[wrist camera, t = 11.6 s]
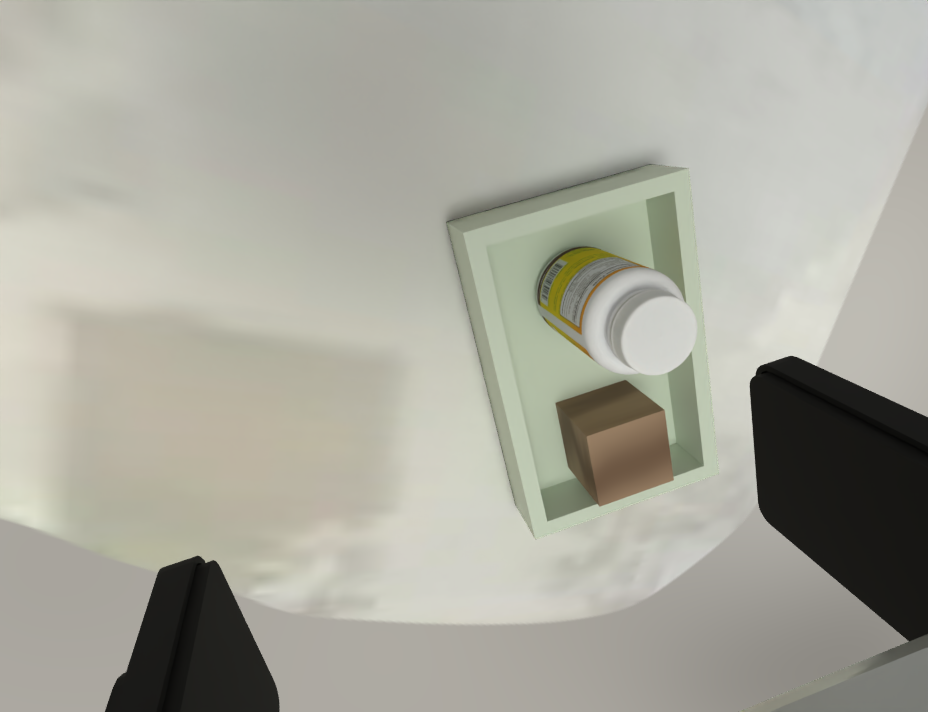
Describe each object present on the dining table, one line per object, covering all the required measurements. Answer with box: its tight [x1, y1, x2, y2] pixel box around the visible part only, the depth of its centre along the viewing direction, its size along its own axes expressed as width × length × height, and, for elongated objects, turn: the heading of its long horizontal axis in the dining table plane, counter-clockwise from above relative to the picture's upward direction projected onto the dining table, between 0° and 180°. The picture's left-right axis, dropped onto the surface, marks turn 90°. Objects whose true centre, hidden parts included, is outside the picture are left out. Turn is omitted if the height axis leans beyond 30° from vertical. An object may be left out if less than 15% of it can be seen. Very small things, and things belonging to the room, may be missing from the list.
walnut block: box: [555, 380, 674, 507], centre depth 41 cm, size 5×5×5 cm
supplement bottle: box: [536, 246, 697, 375], centre depth 35 cm, size 6×6×10 cm
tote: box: [446, 164, 719, 540], centre depth 40 cm, size 20×13×4 cm, turn 13°
